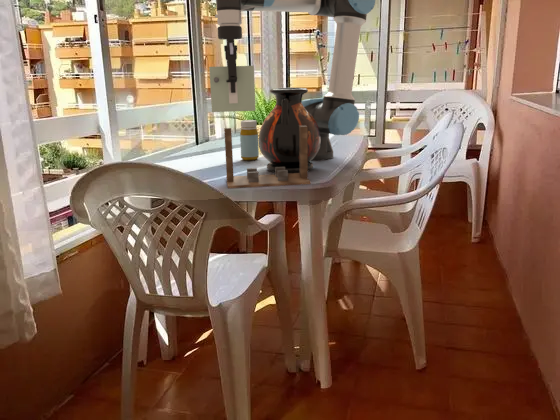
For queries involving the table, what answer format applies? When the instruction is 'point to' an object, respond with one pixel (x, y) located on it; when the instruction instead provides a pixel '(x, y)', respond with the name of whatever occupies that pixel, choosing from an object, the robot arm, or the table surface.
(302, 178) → the cabinet frame
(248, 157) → the bottle
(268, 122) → the amphora vase
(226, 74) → the beige flat panel
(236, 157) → the table surface
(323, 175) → the table surface
